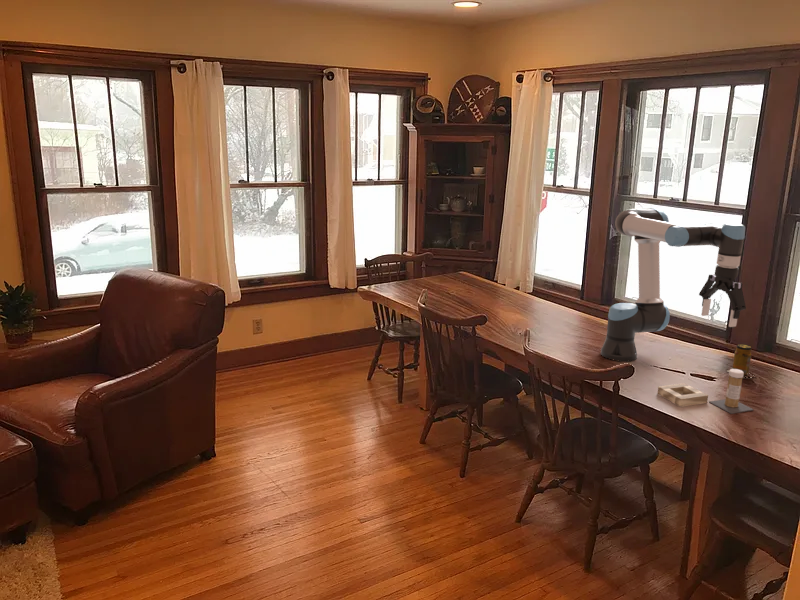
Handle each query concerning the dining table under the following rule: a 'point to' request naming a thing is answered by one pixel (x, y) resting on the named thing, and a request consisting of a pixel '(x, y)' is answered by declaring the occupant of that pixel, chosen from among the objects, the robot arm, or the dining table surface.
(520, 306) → the dining table surface
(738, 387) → the sprinkles bottle
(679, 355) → the dining table surface
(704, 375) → the dining table surface
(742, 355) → the condiment
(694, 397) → the frame
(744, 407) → the coaster
